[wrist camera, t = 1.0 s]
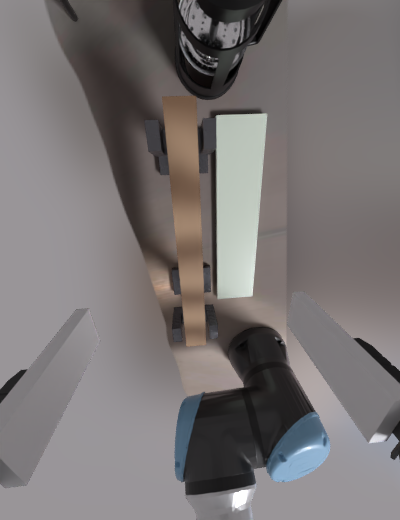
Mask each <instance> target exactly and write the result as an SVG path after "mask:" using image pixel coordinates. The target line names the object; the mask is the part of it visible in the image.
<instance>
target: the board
mask: <svg viewBox="0 0 400 520" xmlns="http://www.w3.org/2000/svg"><path fill="white" fill-rule="evenodd" d="M215 118H216V138H217V149H216V150H215V155H216V271H217V299H224V298H237V297H249V296H252V294H253V282H254V269H255V257H256V245H257V233H258V220H259V208H260V196H261V184H262V171H263V159H264V147H265V135H266V122H267V114H237V115H216V117H215Z"/></svg>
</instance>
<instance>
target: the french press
mask: <svg viewBox="0 0 400 520" xmlns="http://www.w3.org/2000/svg"><path fill="white" fill-rule="evenodd" d="M264 2H265V3H264ZM281 2H282V0H181V1H180V4H179V7H178V3H177V0H173V11H174V26H175V40H176V47H175V61H176V68H177V72H178V75H179V77H180V79H181V82H182V83H183V85H184V86H185V88H186V89H187V90H188V91H189V92H190V93H191V94H193V95H194V96H196V97H198V98H200V99H205V100H211V99H216V98H218V97H220V96H222V95H223V94H225V93H226V92H227V91H228V90H229V89H230V87H231V86H232V84H233V83H234V81H235V79H236V77H237V74H238V70H239V67H240V65H241V63H242V59H243V55H244V52H245V50H246V47H247V46H250V45H254V44H258V43H259V42H260V40H261V38H262V36H263V34H264V33H265V31H266V29H267V27H268V25H269V24H270V22H271V20H272V18H273V16H274V14H275V13H276V11H277V9H278V7H279V5H280V4H281ZM263 5H264V8H263V10H262V12H261V15H260V17H259V19H258V21H257V23H256V24H255V22H256V20H257V18H258V16H259V13H260V11H261V9H262V7H263ZM254 24H255V25H254ZM184 55H185V57H186V58H187V60H188V61H189V63H190V64H191V65H192V66H193V67H194V68H195V69H196V70H198V71H199V72H201V73H203V74H205V75H208V76H214V77H213V81H212V84H211V88H210V87H204V86H201V85H199V84H197V83H196V82H194V81H193V80H192V78H191V77H190V75H189V74H188V71H187V69H186V66H185V61H184Z"/></svg>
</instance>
